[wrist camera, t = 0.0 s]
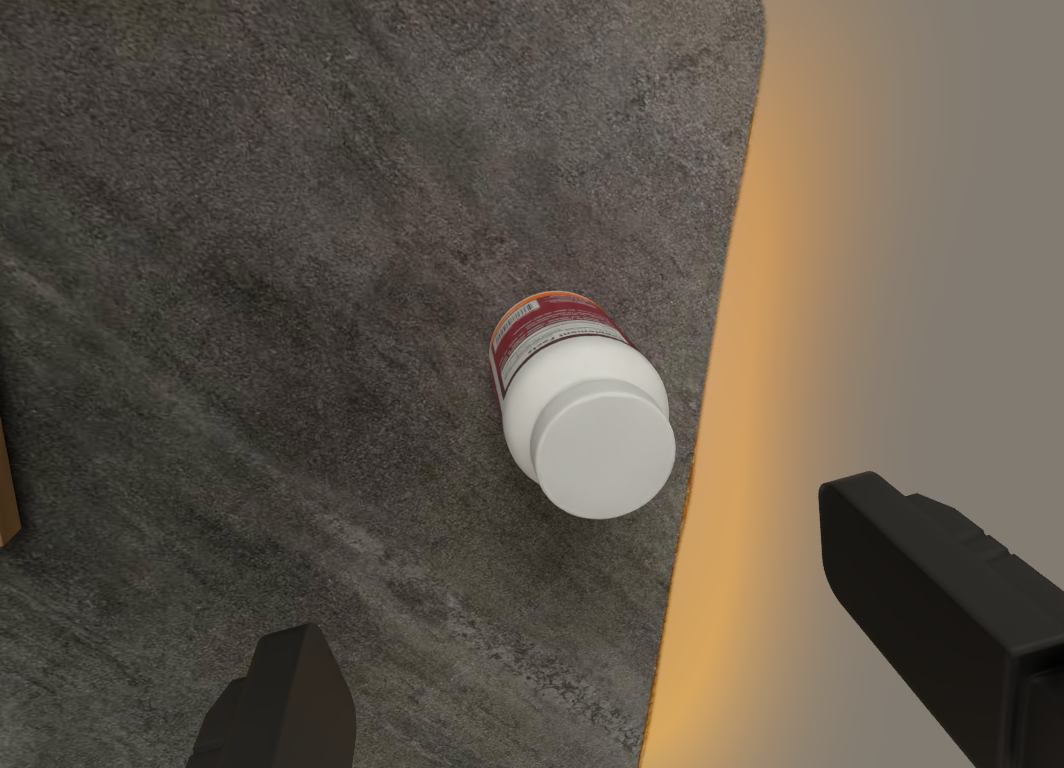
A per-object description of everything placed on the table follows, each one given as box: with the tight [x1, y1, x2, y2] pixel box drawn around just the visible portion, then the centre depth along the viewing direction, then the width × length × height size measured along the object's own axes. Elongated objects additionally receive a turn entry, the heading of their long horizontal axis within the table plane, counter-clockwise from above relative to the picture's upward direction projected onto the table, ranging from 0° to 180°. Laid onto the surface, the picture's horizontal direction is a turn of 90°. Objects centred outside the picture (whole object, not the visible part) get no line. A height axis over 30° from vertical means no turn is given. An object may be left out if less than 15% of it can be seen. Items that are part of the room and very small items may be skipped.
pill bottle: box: [489, 291, 676, 519], centre depth 26 cm, size 6×6×11 cm
